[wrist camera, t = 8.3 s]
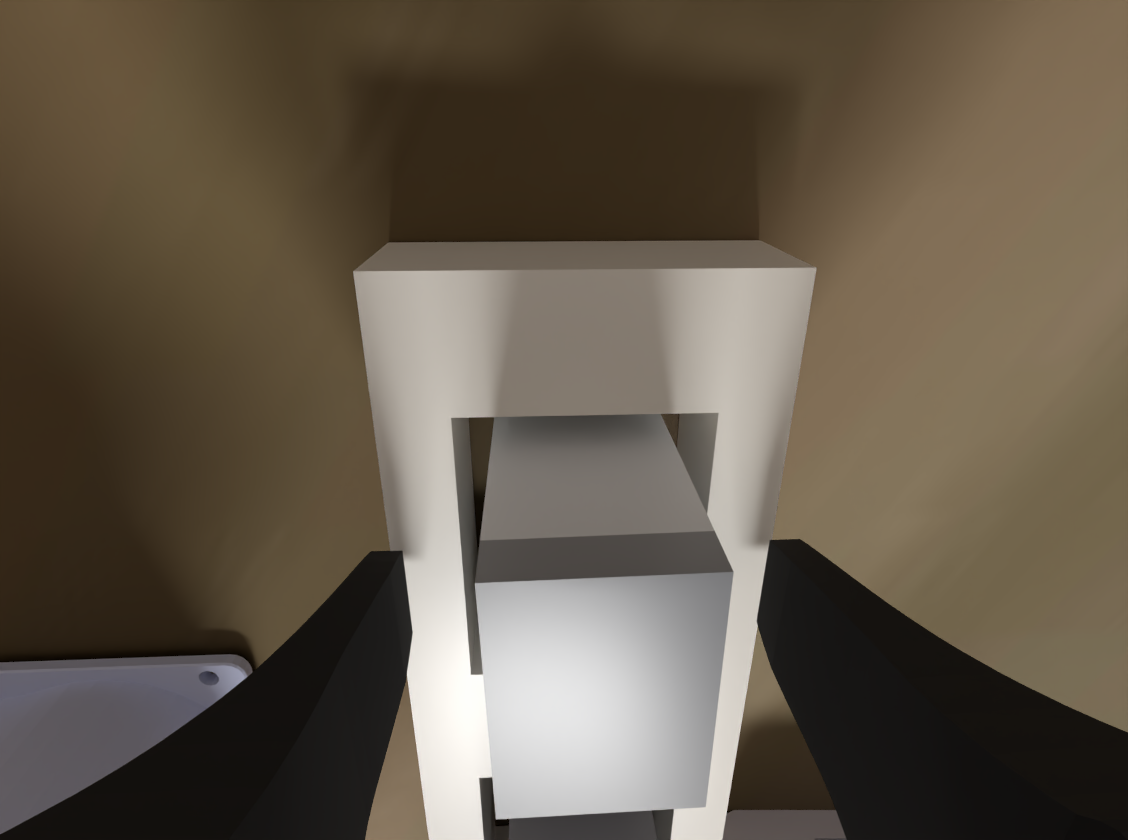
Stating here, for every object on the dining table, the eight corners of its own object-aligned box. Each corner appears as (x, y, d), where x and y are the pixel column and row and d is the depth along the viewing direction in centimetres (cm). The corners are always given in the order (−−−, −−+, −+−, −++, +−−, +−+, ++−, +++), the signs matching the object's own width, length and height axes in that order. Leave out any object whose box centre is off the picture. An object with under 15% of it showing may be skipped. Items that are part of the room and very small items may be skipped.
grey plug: (508, 564, 17) (495, 819, 11) (497, 392, 15) (474, 583, 9) (640, 558, 17) (705, 806, 11) (648, 387, 15) (733, 571, 9)
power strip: (457, 878, 23) (444, 1013, 19) (388, 242, 14) (340, 281, 10) (680, 866, 23) (707, 996, 20) (760, 239, 14) (837, 277, 10)
